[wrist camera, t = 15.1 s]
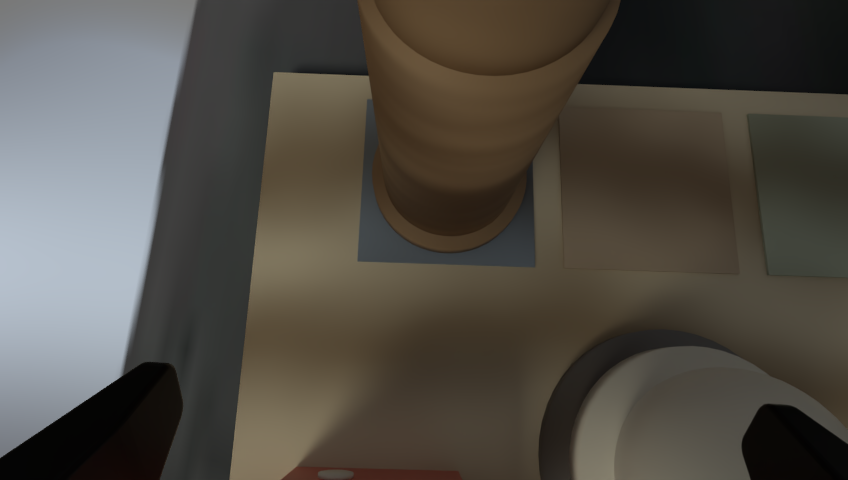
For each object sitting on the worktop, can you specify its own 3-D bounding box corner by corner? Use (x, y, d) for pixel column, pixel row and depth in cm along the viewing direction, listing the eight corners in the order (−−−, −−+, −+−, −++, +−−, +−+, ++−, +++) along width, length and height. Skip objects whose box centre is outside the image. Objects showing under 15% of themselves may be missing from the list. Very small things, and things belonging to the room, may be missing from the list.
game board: (1043, 710, 16) (1111, 746, 15) (216, 693, 16) (195, 729, 14) (916, 110, 21) (956, 89, 19) (280, 86, 21) (269, 62, 19)
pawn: (547, 218, 18) (812, -74, 6) (408, 277, 18) (401, 81, 6) (484, 92, 19) (603, -368, 7) (351, 143, 19) (240, -263, 7)
